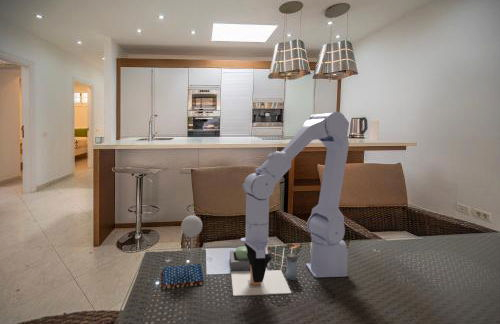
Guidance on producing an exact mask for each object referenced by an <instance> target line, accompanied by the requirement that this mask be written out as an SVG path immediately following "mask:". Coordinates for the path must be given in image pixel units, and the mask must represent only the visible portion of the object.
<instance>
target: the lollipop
mask: <svg viewBox="0 0 500 324" xmlns="http://www.w3.org/2000/svg"><path fill="white" fill-rule="evenodd" d="M203 226H204V225H203V221H202V220H201V218H200V217H198V216H196V215H193V214H191V215H187V216H185V217H184V218H183V220H182V222H181V224H180V227H181V228H180V229H181V232H182V233H183V234H184V235H185V236H186V237H190V265H192V264H194V260H193V258H194V256H193V254H194V251H193V250H194V246H193V245H194V244H193V242H194V237H196V236H198V235H199V234H200V233H201V232H202V230H203Z"/></svg>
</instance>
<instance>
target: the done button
mask: <svg viewBox="0 0 500 324" xmlns="http://www.w3.org/2000/svg"><path fill="white" fill-rule="evenodd" d="M235 251H236V260H249V259H248V257H247V253H248V251H247V248H246V246H245V245H244V246H243V245H242V246H238V247H236V248H235ZM236 260H235V261H236Z"/></svg>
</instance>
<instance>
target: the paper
mask: <svg viewBox="0 0 500 324" xmlns="http://www.w3.org/2000/svg"><path fill="white" fill-rule="evenodd" d="M230 273H231V284H232V295H233V297H240V296H243V297H244V296H264V295H265V296H266V295H267V296H268V295H269V296H270V295H288V294H292V291H291V289H290V286H289V285H288V282H287V280H286V277H285V276H284V274H283V272H282V269H277V270H275V269H274V270H273V269H272V270H266V271H265V275H264V279H263V282H261V285H260V286H252V285H251V284H250V270H240V271H230Z"/></svg>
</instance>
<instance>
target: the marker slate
mask: <svg viewBox="0 0 500 324" xmlns="http://www.w3.org/2000/svg"><path fill="white" fill-rule="evenodd" d="M285 273H286V274H285V279H287V280H289V281H295V280H297V278H298V277H297V276H298V255H297V254H295V253H288V254H286V272H285Z"/></svg>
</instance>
